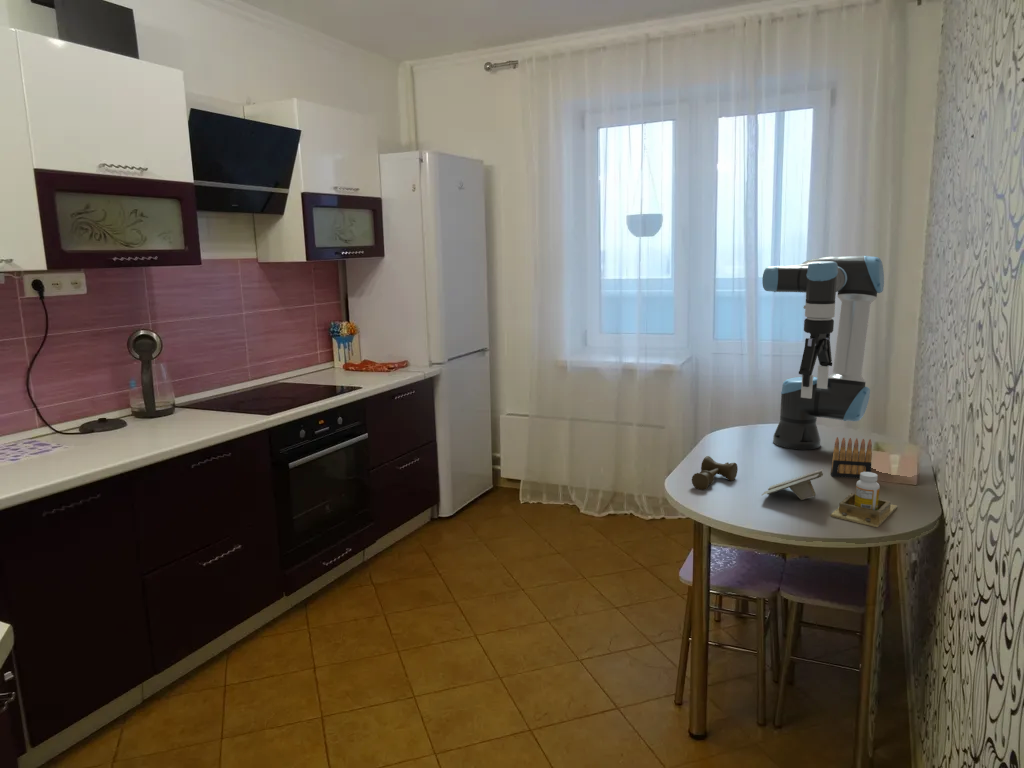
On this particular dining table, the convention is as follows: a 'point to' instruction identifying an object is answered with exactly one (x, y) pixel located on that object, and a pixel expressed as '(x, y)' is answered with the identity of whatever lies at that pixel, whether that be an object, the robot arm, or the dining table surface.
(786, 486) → the grey tablet stand
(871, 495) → the supplement bottle
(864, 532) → the dining table surface
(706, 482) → the kendama
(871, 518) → the wooden holder tray
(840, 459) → the ammunition clip
